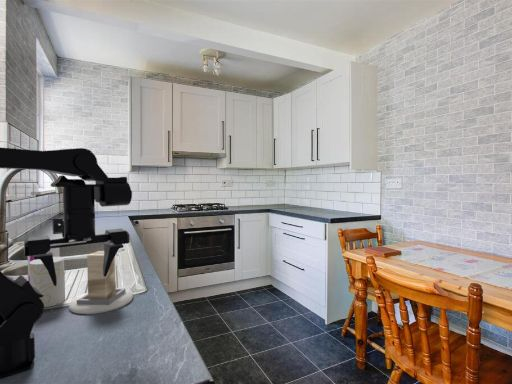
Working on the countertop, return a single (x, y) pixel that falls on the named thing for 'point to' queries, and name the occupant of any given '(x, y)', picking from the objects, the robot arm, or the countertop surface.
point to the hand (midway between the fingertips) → (81, 280)
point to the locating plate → (100, 302)
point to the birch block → (100, 277)
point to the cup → (48, 281)
